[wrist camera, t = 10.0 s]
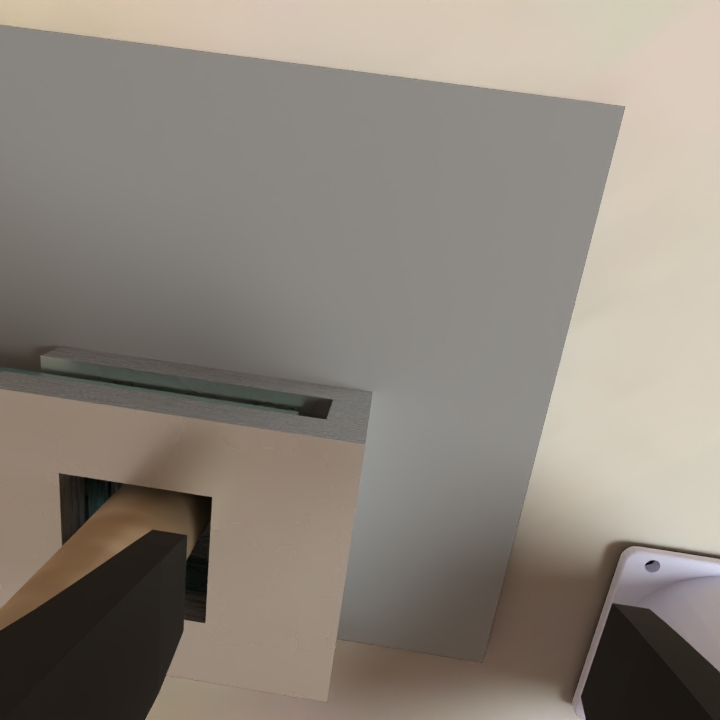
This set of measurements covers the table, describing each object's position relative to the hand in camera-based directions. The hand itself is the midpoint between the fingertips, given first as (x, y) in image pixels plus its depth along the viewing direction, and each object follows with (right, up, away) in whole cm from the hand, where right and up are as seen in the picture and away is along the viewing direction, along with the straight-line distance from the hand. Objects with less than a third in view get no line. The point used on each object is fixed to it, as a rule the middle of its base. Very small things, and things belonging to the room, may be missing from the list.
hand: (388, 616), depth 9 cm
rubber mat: (-5, +4, +10) cm, 12 cm away
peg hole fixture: (-8, 0, +10) cm, 13 cm away
